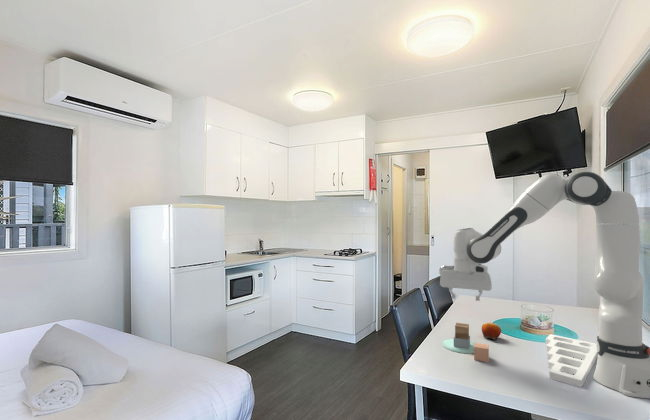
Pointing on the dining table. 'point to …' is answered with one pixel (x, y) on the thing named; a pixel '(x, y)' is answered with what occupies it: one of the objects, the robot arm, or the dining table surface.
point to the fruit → (491, 330)
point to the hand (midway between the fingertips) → (465, 299)
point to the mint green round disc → (459, 345)
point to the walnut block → (462, 331)
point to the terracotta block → (481, 352)
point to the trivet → (570, 359)
